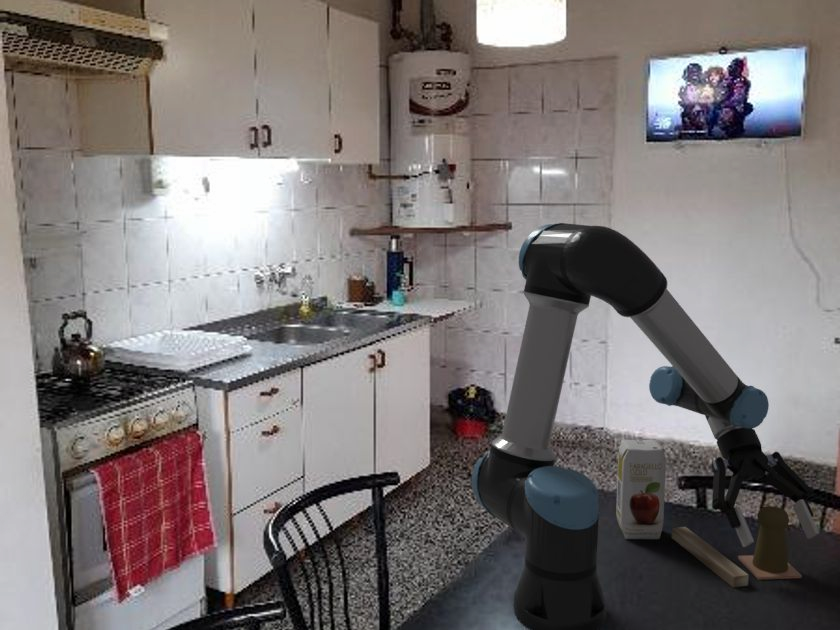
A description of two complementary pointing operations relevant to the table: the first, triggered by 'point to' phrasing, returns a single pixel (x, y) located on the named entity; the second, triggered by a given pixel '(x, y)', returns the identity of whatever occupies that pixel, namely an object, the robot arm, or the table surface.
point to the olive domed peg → (771, 540)
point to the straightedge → (710, 557)
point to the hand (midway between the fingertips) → (781, 540)
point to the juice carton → (641, 489)
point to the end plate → (766, 575)
